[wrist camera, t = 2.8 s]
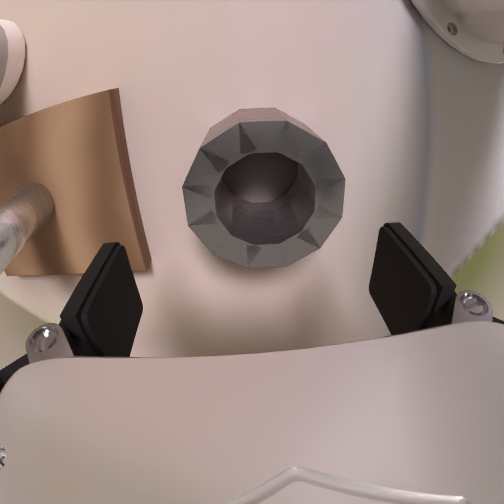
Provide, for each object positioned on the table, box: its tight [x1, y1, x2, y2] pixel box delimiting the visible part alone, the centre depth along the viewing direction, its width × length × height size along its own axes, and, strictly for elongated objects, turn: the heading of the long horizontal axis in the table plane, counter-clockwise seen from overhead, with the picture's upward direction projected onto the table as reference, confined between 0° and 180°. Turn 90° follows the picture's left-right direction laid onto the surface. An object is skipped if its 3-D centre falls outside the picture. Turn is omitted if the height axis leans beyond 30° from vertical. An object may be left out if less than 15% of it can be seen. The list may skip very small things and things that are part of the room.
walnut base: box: [0, 88, 151, 276], centre depth 17 cm, size 14×12×2 cm
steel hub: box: [182, 108, 345, 269], centre depth 16 cm, size 7×7×5 cm
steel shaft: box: [0, 182, 55, 274], centre depth 14 cm, size 3×3×7 cm
